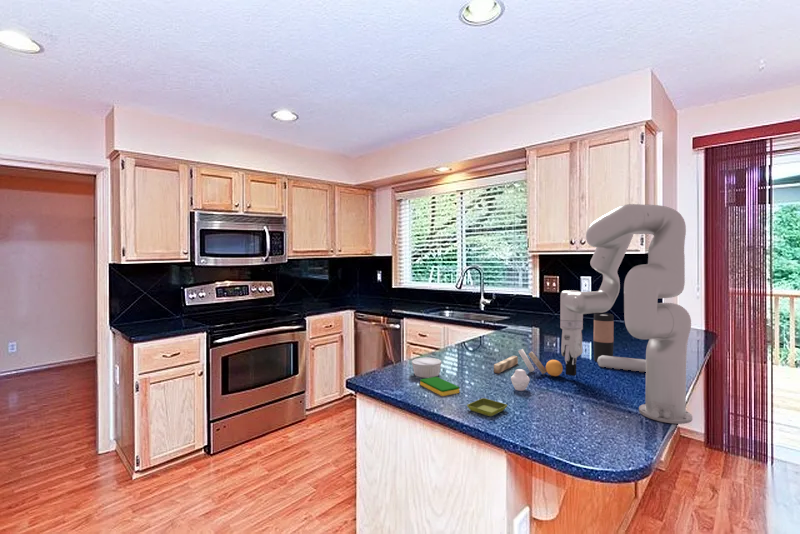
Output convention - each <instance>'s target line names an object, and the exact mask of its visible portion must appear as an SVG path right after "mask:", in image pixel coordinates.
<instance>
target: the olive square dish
mask: <svg viewBox="0 0 800 534" xmlns="http://www.w3.org/2000/svg"><path fill="white" fill-rule="evenodd" d="M466 406H467V408H468V409H469V410H470V411H472V412H474V413H478V414H481V415H484V416H488V417H493V416H495V415H497V414H500V413H501V412H503V411H505V410H506V408H507V407H508V404H506V403H503V402H499V401H496V400H493V399H489V398H486V397H485V398H484V397H481V398H480V399H478V400H475V401H473V402H470V403H467V404H466Z"/></svg>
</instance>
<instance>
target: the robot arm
mask: <svg viewBox="0 0 800 534" xmlns="http://www.w3.org/2000/svg"><path fill="white" fill-rule="evenodd" d="M686 227H687V226H686V222H685V219H684V217H683V216H682V214H681V213H680V212H679V211H678V210H676V209H674V208H671V207H670V206H664V205H661V204H660V205H658V204H639V203H637V204H635V203H629V204H627V203H626V204H623V205H620V206H618V207H616V208H614V209H613V210H611V211H609V212H607V213H606V214H604V215H601V216H600V217H598V218H597V219H596V220H594V221H593V222H592V223H591V224H590V225H589V226H588V227H587V230H586V232H585V240H586V242H587V244H588V245H589V246H590V247H593V248H595V250H594V252H593V255H592V257H591V259H590V262H589V263H590V266H591V268H592V269H594V270H595V271H596V272H598V273H599V274H602V282H601V285H600V287H599V288H598V290H596V291H580V290H574V289H573V290H572V289H571V290H570V289H569V290H567V289H566V290H562V291H561V292H560V309H559V310H560V316H559V319H560V322H559V323H560V329H561V330H562V332H561V346H560V348H561V349H560V351H561V353H560V354H561V356H562V357H564V361H565V375H567V376H573V377H575V376H576V375H577V359H578V357H580V356H581V355H582V354H583V351H584V350H583V333H582V331H583V330H584V325H583V324H584V320H583V319H584V315H587V314H588V315H589V314H595V313H606V312H608V311H609V310H611V309H612V307H613V306H614V304H615V302H616V300H617V298H618V296H619V293H620V289H621V284H620V283H621V282H620V281H621V280H620V277H619V274H618V273H619V272H618V271H619V267H620V265H621V264H622V262H623V259H624V257H625V254H627V253H626V252H627V250H628V248H629V247H630V244H631V242H632V241H633V237H634V235H652V236H653V237H652V239H651V241H650V243H649V246H648V250H647V255H648V256H647V257H648V258H647V263H646V264H638V265H635V266H633V267H632V268H631V269H630V270H629V271H628V272H627V274H626V275H625V278H624V281H623V282H624V283H623V313H624V315H623V317H624V318H623V319H624V324H625V328H626V330H627V332H628V334H630V335H631V336H632V337H633V338H635V339H639V340H648V342H647V344H646V350H645V360H646V373H645V395H644V396H645V403H643V404H641V405H639V407H638V412H639V413H640V414H641V415H642V416H643V417H646V418H648V419H650V420H654V421H657V422H660V423H665V424H673V425H674V424H675V425H684V424H689V423H691V422H692V421H693V415H692V413H690V412H689V411H687V410H686V404H687V403H686V402H687V399H686V396H687V355H688V354H687V353H688V342H689V336H690V333H691V328H692V319H691V315H690V313H689V311H687V309H686V308H685V307H683V306H682V305H679V304H677V303H674V302H658V299H671V298H676V297H677V296H678V297H679V296H680V295H681V294H682V293H683V291H684V289H685V283H686V282H685V281H686V280H685V279H686V277H685V275H686V273H685V271H686V269H685V267H686V265H685V263H686V262H685V259H686V258H685V244H686V243H685V242H686V235H687V234H686V232H687V228H686Z"/></svg>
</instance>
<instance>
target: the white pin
mask: <svg viewBox="0 0 800 534" xmlns="http://www.w3.org/2000/svg"><path fill="white" fill-rule="evenodd" d="M518 353H519V355H520V357H521V359H522V360H523V362H524V363H525V365H526V367H527V369H528V371H529V373H532V372H535V370H536V369H535V368H534V366H533V364H532V362H531V360H530V358H529V357H528V356H527V355H528V354H526V352H525V350H524V348H522V349H519V350H518Z"/></svg>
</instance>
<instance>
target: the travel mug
mask: <svg viewBox="0 0 800 534" xmlns="http://www.w3.org/2000/svg"><path fill="white" fill-rule="evenodd" d="M614 323H615V321H614V315H613V314H611V313H608V312H607V313H606V312H603V313H593V360H594V362H596V363H598V362H597V360H598V357H600V356H602V355H605V356H614V345H615V344H614V343H615V342H614V341H615V340H614V339H615V338H614V331H615V330H614Z"/></svg>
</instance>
